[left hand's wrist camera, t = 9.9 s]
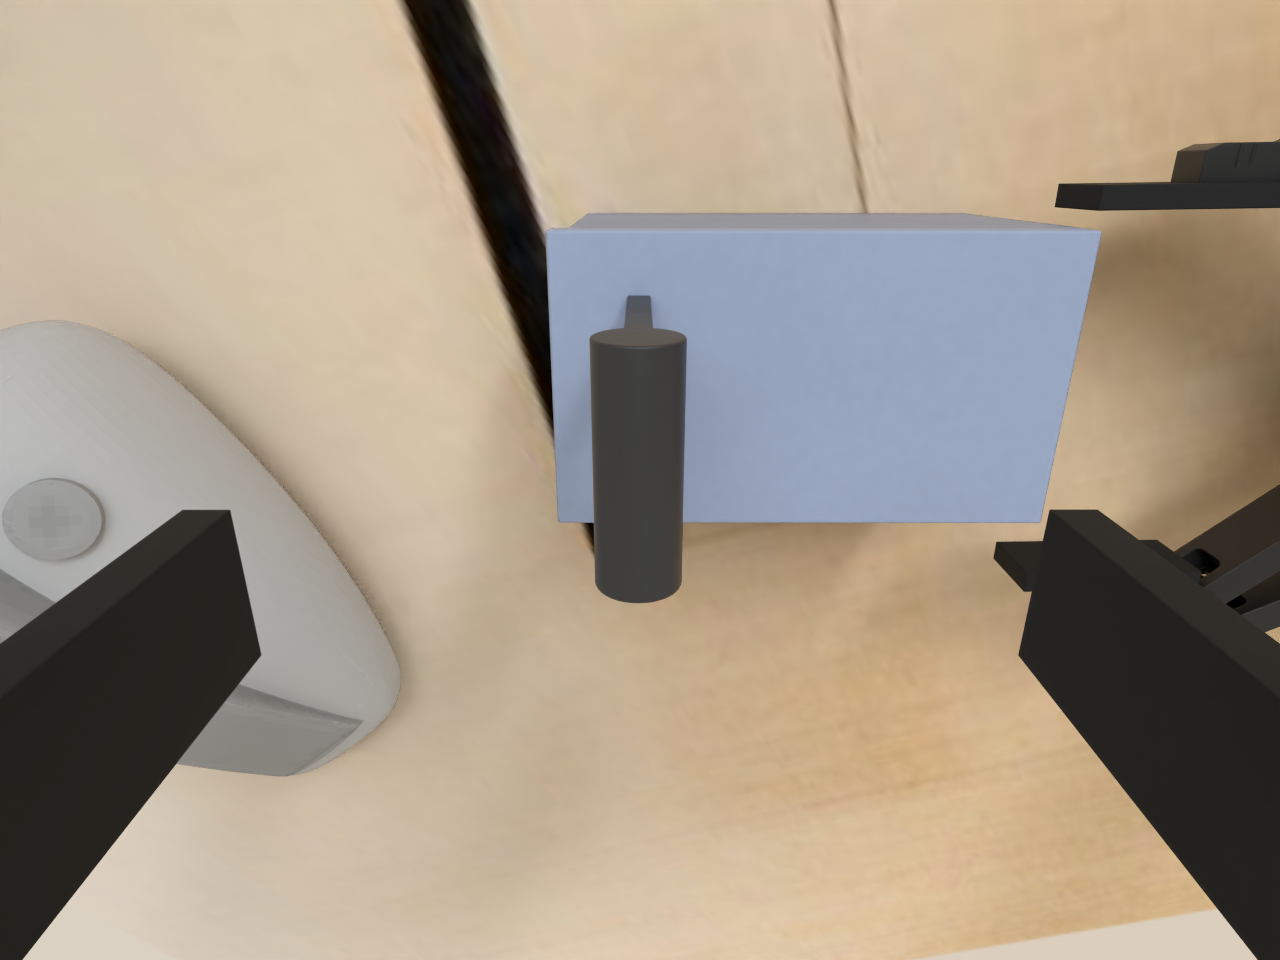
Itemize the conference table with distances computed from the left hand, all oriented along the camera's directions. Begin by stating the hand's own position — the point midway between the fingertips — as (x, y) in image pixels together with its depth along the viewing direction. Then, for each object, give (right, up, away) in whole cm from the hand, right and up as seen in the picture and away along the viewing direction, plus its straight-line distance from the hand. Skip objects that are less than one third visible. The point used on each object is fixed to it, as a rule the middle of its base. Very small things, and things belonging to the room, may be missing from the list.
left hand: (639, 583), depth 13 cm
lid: (+5, +5, +13) cm, 15 cm away
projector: (-21, -2, +25) cm, 33 cm away
